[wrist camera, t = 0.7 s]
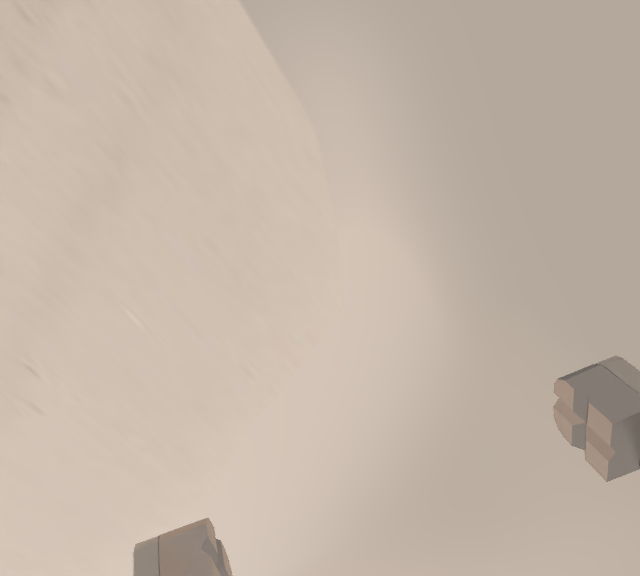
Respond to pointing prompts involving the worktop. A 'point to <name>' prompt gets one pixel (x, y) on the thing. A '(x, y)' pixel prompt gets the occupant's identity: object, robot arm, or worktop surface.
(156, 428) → the worktop surface
